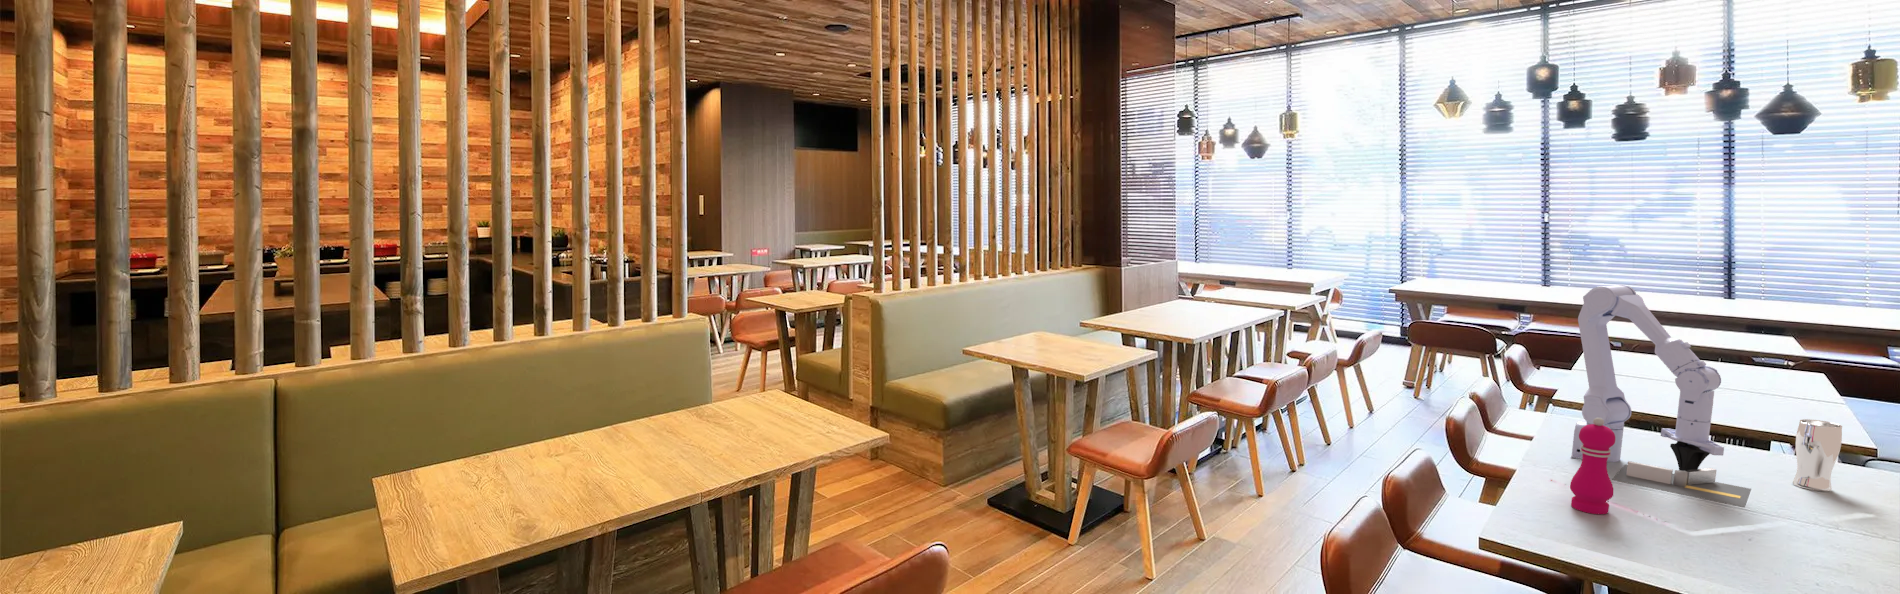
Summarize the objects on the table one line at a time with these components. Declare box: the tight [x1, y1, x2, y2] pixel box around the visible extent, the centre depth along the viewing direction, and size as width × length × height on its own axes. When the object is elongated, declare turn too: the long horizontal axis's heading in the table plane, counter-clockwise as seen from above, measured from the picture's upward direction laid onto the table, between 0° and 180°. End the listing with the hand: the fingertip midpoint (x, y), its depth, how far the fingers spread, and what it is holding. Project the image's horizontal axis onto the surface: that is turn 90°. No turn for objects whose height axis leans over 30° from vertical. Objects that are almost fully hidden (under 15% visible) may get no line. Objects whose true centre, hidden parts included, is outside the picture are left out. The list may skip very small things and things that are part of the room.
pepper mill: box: [1569, 418, 1615, 515], centre depth 169 cm, size 7×7×20 cm
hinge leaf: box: [1684, 467, 1717, 485], centre depth 183 cm, size 8×1×3 cm, turn 102°
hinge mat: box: [1611, 460, 1752, 508], centre depth 182 cm, size 22×16×4 cm
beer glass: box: [1792, 418, 1843, 492], centre depth 182 cm, size 7×7×15 cm
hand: (1687, 475), depth 186 cm, fingers closed
